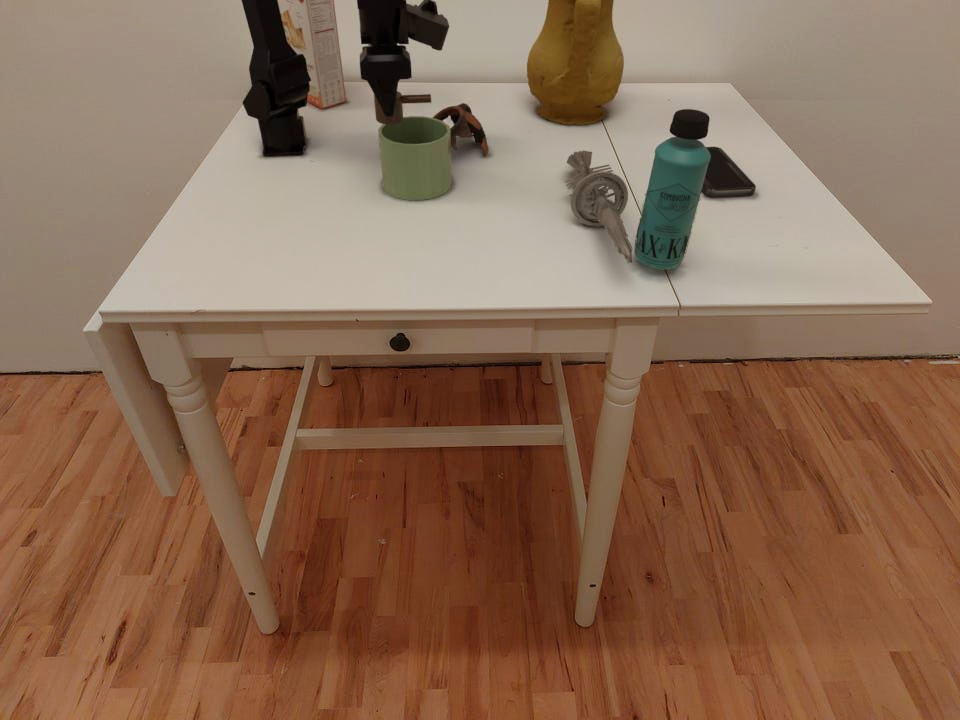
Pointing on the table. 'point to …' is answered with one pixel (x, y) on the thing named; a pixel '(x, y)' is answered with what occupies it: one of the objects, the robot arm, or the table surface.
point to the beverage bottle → (673, 192)
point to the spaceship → (599, 199)
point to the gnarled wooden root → (464, 125)
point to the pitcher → (575, 62)
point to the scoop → (399, 107)
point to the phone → (725, 177)
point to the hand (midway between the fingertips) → (389, 110)
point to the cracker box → (316, 47)
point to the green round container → (416, 158)
